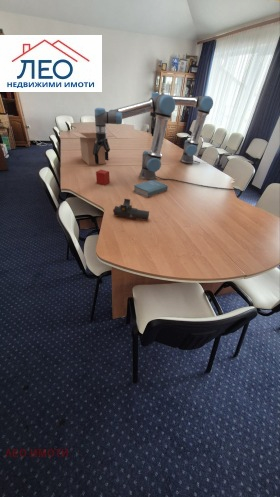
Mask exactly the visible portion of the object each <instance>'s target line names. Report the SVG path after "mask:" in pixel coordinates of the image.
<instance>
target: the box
mask: <svg viewBox="0 0 280 497" xmlns="http://www.w3.org/2000/svg"><path fill="white" fill-rule="evenodd" d="M70 133H71V134H72V135H74V136H75V137H77V138H79V144H80V153H81V160H83V162H85V163H86V165H87V166H95V165H97V166H98V165H106V163H107V162H106V161H107V160H105V149H104V147H103V146H101V147H100V150H99V152H98V158H99V164H95V155H93V149H94V144H95V141H97V138H96V131H95V130H92V129H91V130H77V132H76V131H70ZM105 133H106V138H113V137H114V136H113V135H111V134H109V133H108V132H105Z"/></svg>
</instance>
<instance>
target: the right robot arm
mask: <svg viewBox="0 0 280 497" xmlns="http://www.w3.org/2000/svg"><path fill="white" fill-rule="evenodd" d="M158 95H161V94H160V92H152V93H151V96H150V98H153V97H156V96H158ZM171 96H172V97H173V98H174V100H175V106H184V107H193V108H195V109H197V116H196V119H195V122H194V124H193V128H192V132H191V135H190V139H186V140H185V141H184V145H183V152H182V155H181V157H180V159H179V162H180V163H183V164H187V165H188V164H191V165H192V164H194V163H197V164H200V163H201V162H200V161H197V160H195V159H194V156H195V155H197V152H198V147H199V139H200V136H201V134H202V130H203V127H204V124H205V121H206V118H207V116H208V115H210V112H211V109H212V108H213V106H214V99H213V98H212V97H211V96H210V95H201V96H195V97H194V96H182V95H181V96H180V95H171ZM149 113H150V114H149V116H150V117H151V124H150V135H151V137H153V134H154V130H155V125H156V120H157V116H156V112H153V113H152V112H149Z"/></svg>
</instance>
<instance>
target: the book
mask: <svg viewBox="0 0 280 497" xmlns="http://www.w3.org/2000/svg"><path fill="white" fill-rule="evenodd" d="M168 187H169V186H168V184H166V183H164V182H160V181H159V180H156V179H153V180H146V181H143V182H140V183H137V184H134V185H133V193H135V194H138V195H140V196H142V197H145V198H150V197H153V196H156V195H159V194H161V193H164V192H167V191H168Z"/></svg>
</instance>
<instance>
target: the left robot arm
mask: <svg viewBox="0 0 280 497" xmlns="http://www.w3.org/2000/svg"><path fill="white" fill-rule="evenodd" d="M172 96H173V95H170V94H166V93H165V94H164V93H161V94H160V95H158V96H156V97H153V98H151V97H150V98H149V99H148V100H143V101H141V102H137V103H134V104H129V105H126V106H122V107H118V108H115V109H109V110H108V111H106V108H104V107H95V109H94V122H95V124H94V126H95V132H96V138H97V141H95V144H94V149H93V155H95V164H97V165H100V164H99V158H98V152H99V150H100V147H101V146H103V147H104V149H105V160H106V161H109V152H110V151H111V148H110V145H109V142H108V137H106V133H107V125H108V124H109V125H121V124H122V123H123V120H124V119H127V118H131V117H135V116H139V115H143V114H147V113H150V112H152V113H153V112H156V116H155V117H156V122H155V130H154V134H153V136H152V140H151V145H150V149H149V150H143V152H142V159H141V160H142V161H141V169H140V172H139V174H138V175H139V178H140V179H142V180H146V181H150V180H156V178H158V179H160V180H163V181H164V180H165V181H173V182H174V181H176V182H178V183H179V182H180V183H183V184H189V185H194V186H199V187H205V188H210V189H211V188H212V189H220V190H232V191H237V190H238V189H236V188H226V187H216V186H208V185H203V184H199V183H193V182H188V181H183V180H178V179H173V178H163V177H159V176H157V174H156V172H158V171H159V170H160V169H161V167H162V161H161V160H162V153H161V152H162V148H163V144H164V140H165V139H164V138H165V135H166V130H167V126H168V123H169V122H168V121H169V120H170V119H171V118H172V115H173V114H172V113H173V112H174V111H175V109H176V105H175V100H174V98H173V97H172Z"/></svg>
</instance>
